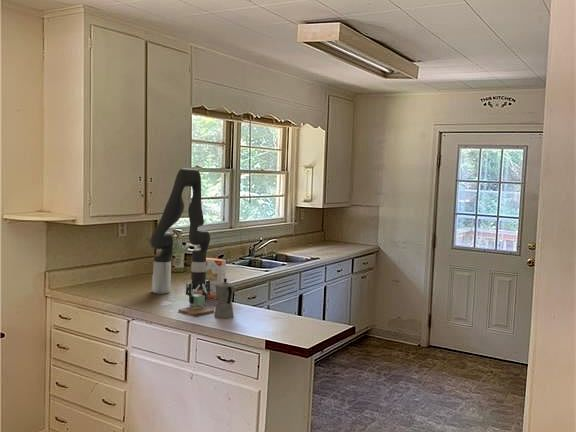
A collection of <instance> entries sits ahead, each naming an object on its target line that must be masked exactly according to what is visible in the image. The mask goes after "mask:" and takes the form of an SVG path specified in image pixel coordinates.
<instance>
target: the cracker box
mask: <svg viewBox="0 0 576 432" xmlns="http://www.w3.org/2000/svg"><path fill="white" fill-rule="evenodd" d="M226 266H227V259H224V258H214V257H213V258H212V257H206V280H209V281H210V292H208V293H207V299H213V300H217V296H216V286H215V285H216V284H217V283H222V282H224V279H225V278H226V274H227V272H226V271H227V267H226ZM204 286H205V285H204ZM207 289H208V287H207ZM202 293H203V292H202V291H201V290H199V291H196V294H200V295H202Z"/></svg>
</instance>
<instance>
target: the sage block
mask: <svg viewBox="0 0 576 432" xmlns="http://www.w3.org/2000/svg"><path fill="white" fill-rule="evenodd" d="M205 303H206V301H205V296H204V295H200V294H197V293H196V294H194V303H193V304H191V303H190V302H189V304H190V306H191V307H192V306H197V305H198V306H201V307H204V306H205Z"/></svg>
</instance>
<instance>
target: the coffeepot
mask: <svg viewBox="0 0 576 432" xmlns="http://www.w3.org/2000/svg"><path fill="white" fill-rule="evenodd" d="M227 281H228V278H226V277H225V279H224V282H222V283H217V284H216V285H215V286H216V296H217V299H216V301H217V302H216V307H215V310H214V318H217V319H223V320H224V319H232V318H234V309H233V301H232V299H233V295H234V289H235V286H236V285H235V283H231V282H227Z"/></svg>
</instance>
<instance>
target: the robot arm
mask: <svg viewBox="0 0 576 432" xmlns="http://www.w3.org/2000/svg"><path fill="white" fill-rule="evenodd" d="M201 177H202V176H201V173H200V171H199V170H198V169H197V168H186V167H184V168H180V169H179V170H178V172H177V175H176V177H175V180H174V184H173V187H172V189H171V192H170V195H169V198H168V200H167V202H166V205H165V207H164V209H163V213H162V215H161V217H160V220H159V222H158V224H157V225H156V226H155V227H156V228H155V229H154V230H153V233H152V235H151V238H150V246H151V248H152V249H155V250H161V251H159V253H157V254H155V255H154V256H153V272H152V274H151V275H152V276H151V292H152V293H153V294H156V295H157V294H159V295H160V294H161V295H164V294H170V292H171V277H172V276H171V274H172V273H171V272H172V271H171V270H172V257H173V250H174V249H173V248H174V237H173V236H174V235H173V234H172V232H170V231H168V230H169V229H170V228H171V227H173V226H174V225H175V224H176V223H177V222H178V221H179V220H180V218H181V217H182V214H183V212H184V210H185V202H184V198H183V192H184V189H185V188H187V187H190V188H191V190H192V196H191V200H190V203H189V205H188V212H187V213H188V219H189V232H188V233H189V234H188V240H189V243H190V244H191V245H193V246H198V245H199V246H198V248H195V249H193V250H192V252H191V265H190V279H191V283H190V282H187V283H186V286H185V295H186V296H188V302H189V304H190V303H191V304H193V303H194V295H195V293H196V294H197V291H199V290H201V291H202V292H203V293H202V295H204V296H205V302H207V299H208V298H207V293H208V292H210V281H209V280H206V258H207V254H208V253H207V252H208V250H209V246H210V242H211V234H210V233H209V231H208V230H198V228H199V227H201V226H203V225H204V224H205V219H204V213H203V207H202V178H201ZM204 285H205V286H204ZM207 287H208V289H207Z"/></svg>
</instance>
